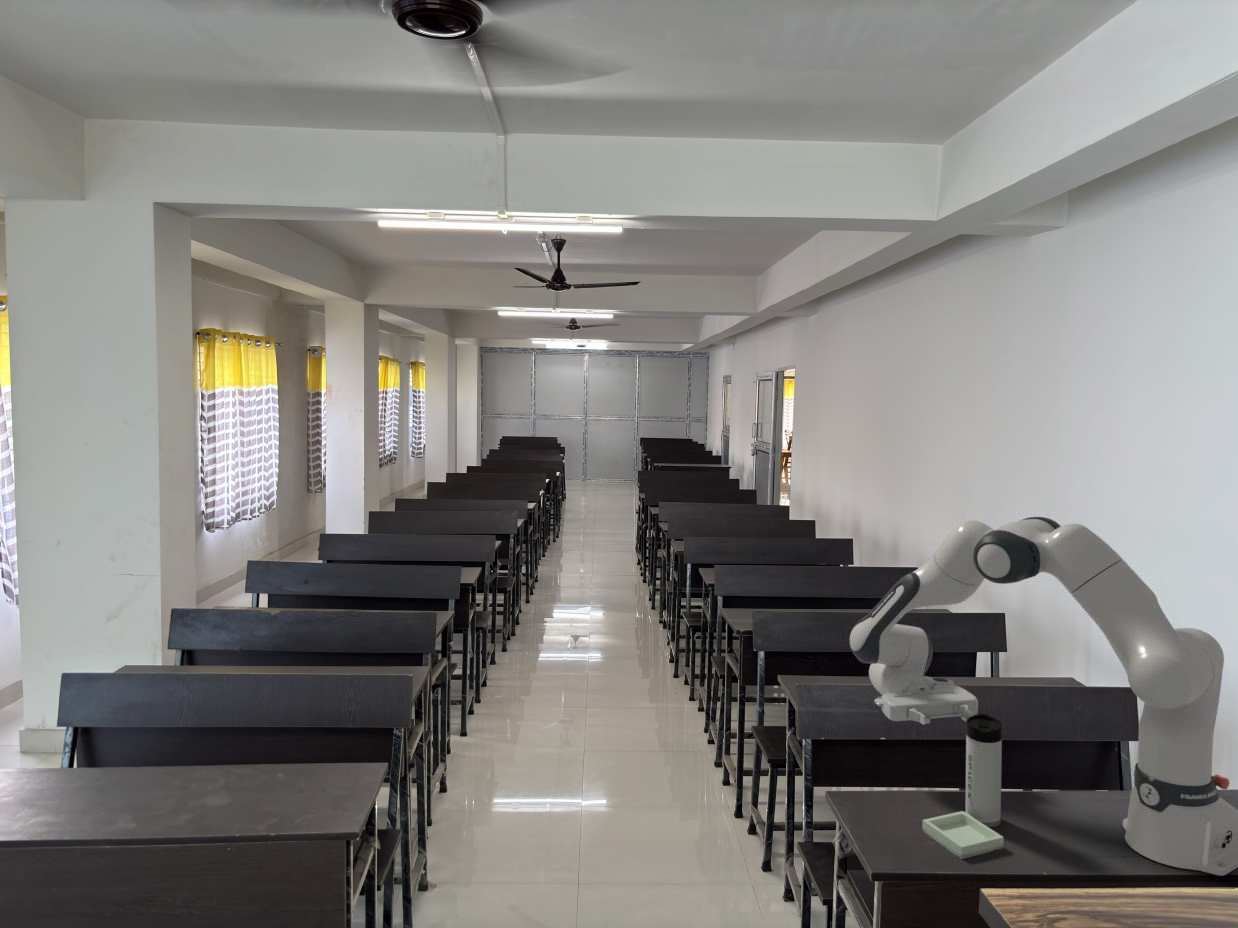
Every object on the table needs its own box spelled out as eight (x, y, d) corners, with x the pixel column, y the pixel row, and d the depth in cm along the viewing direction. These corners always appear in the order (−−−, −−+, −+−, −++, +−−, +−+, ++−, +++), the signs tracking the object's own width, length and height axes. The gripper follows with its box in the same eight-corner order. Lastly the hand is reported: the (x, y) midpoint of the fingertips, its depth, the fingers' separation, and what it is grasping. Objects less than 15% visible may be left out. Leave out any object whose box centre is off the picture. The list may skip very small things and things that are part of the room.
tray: (962, 821, 163) (962, 810, 163) (1003, 848, 153) (1003, 836, 153) (922, 830, 160) (922, 819, 160) (961, 858, 150) (961, 847, 150)
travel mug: (999, 814, 166) (1001, 714, 164) (1001, 830, 160) (1002, 727, 158) (965, 808, 168) (966, 711, 166) (965, 824, 162) (966, 723, 160)
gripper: (871, 684, 186) (901, 707, 173) (956, 678, 189) (993, 700, 176) (870, 712, 187) (901, 737, 173) (956, 705, 190) (992, 730, 176)
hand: (948, 719), depth 175 cm, fingers open, 8 cm apart
